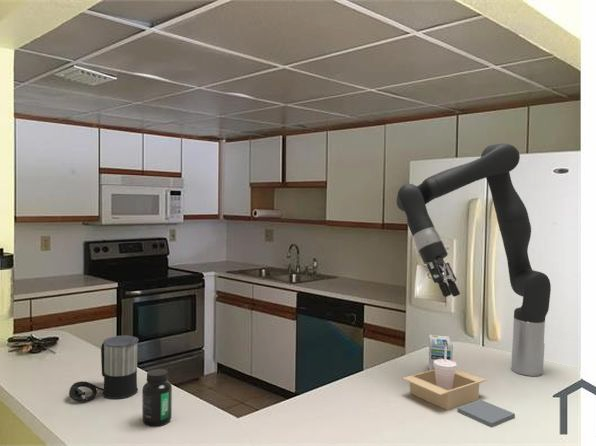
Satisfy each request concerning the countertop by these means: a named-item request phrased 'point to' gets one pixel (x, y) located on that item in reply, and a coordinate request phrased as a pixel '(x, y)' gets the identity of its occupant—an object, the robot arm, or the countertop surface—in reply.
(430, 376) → the carton
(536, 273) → the robot arm
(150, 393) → the supplement bottle
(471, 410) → the mat
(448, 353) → the light bulb box
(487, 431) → the countertop surface
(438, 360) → the smoothie
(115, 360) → the milk frother
